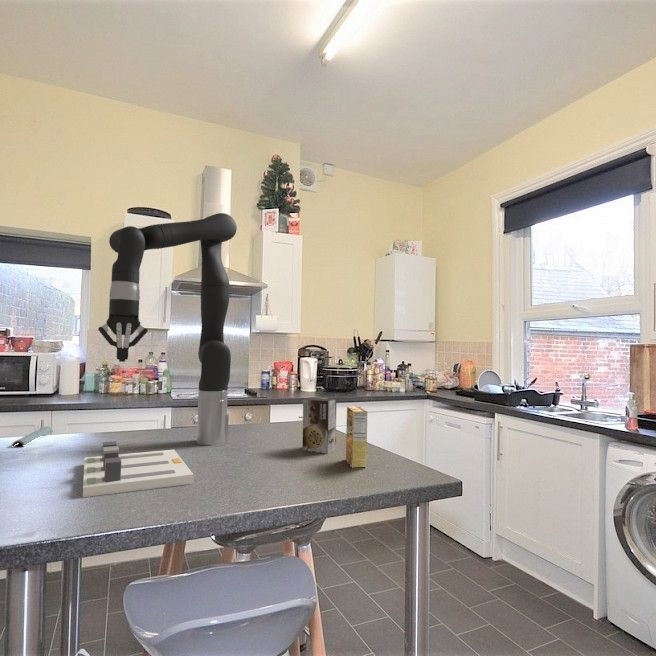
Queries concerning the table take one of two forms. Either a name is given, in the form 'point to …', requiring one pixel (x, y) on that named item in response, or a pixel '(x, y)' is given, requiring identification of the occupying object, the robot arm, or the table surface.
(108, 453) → the block
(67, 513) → the table surface
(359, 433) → the candy box
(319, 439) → the cookie box
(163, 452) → the breaker panel
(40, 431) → the aluminum foil
